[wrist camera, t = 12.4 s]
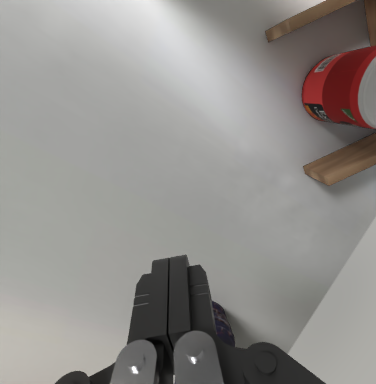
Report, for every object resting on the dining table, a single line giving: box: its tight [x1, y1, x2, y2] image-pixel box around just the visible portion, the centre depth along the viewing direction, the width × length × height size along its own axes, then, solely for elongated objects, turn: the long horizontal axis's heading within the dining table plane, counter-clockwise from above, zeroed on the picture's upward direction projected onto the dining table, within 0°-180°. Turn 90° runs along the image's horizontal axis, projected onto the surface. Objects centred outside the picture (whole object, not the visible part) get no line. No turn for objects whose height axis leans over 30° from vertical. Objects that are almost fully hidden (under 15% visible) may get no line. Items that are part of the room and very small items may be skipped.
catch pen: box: [265, 0, 376, 186], centre depth 32 cm, size 19×14×6 cm
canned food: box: [302, 45, 376, 129], centre depth 29 cm, size 8×8×11 cm
